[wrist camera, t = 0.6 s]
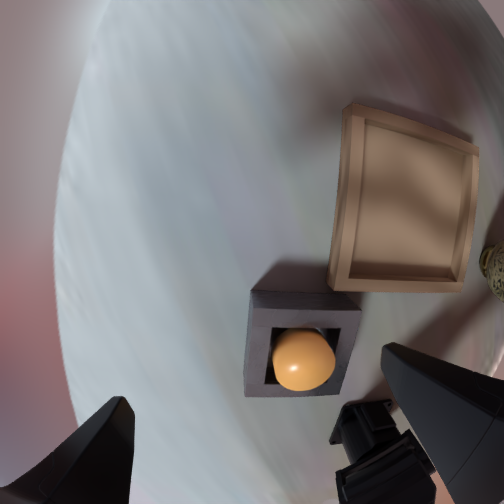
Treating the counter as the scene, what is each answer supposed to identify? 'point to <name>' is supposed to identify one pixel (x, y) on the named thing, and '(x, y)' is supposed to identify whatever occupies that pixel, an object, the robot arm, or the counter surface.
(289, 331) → the button
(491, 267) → the ornate lamp shade
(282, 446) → the counter surface
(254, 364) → the panel
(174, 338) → the counter surface
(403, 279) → the wooden tray
